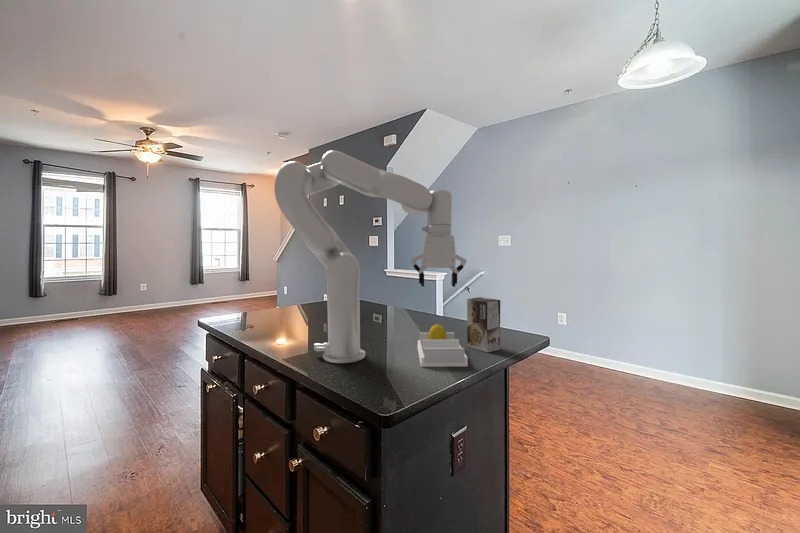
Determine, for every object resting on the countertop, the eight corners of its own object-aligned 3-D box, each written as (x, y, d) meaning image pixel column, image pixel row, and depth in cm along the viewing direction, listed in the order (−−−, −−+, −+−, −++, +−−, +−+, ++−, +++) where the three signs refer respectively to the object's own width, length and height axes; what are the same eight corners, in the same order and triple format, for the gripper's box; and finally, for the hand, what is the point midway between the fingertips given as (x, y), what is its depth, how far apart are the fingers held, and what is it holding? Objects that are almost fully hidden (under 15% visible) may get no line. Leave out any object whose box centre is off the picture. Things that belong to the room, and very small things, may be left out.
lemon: (445, 351, 110) (445, 325, 109) (427, 350, 111) (427, 325, 110) (447, 346, 115) (446, 322, 115) (429, 345, 116) (429, 321, 116)
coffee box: (500, 349, 115) (501, 299, 114) (487, 353, 112) (487, 301, 111) (479, 343, 123) (480, 296, 122) (466, 346, 119) (466, 298, 118)
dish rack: (420, 366, 99) (420, 348, 99) (417, 347, 118) (417, 332, 118) (467, 366, 99) (467, 348, 99) (456, 347, 118) (456, 332, 118)
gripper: (411, 230, 107) (410, 287, 108) (469, 230, 107) (467, 287, 108) (410, 231, 115) (409, 284, 116) (464, 231, 115) (463, 285, 116)
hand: (437, 286), depth 112 cm, fingers open, 9 cm apart
